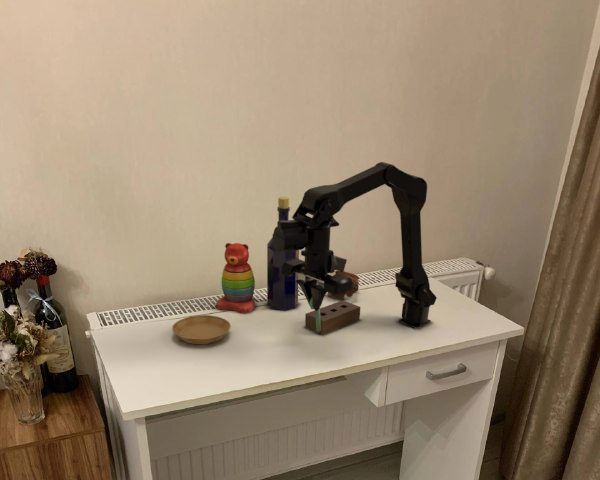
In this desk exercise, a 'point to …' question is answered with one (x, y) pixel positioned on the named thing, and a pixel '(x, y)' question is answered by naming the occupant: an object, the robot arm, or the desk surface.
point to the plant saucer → (201, 329)
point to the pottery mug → (349, 292)
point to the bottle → (278, 285)
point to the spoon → (318, 325)
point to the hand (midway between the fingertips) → (314, 309)
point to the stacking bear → (237, 280)
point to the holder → (333, 317)
